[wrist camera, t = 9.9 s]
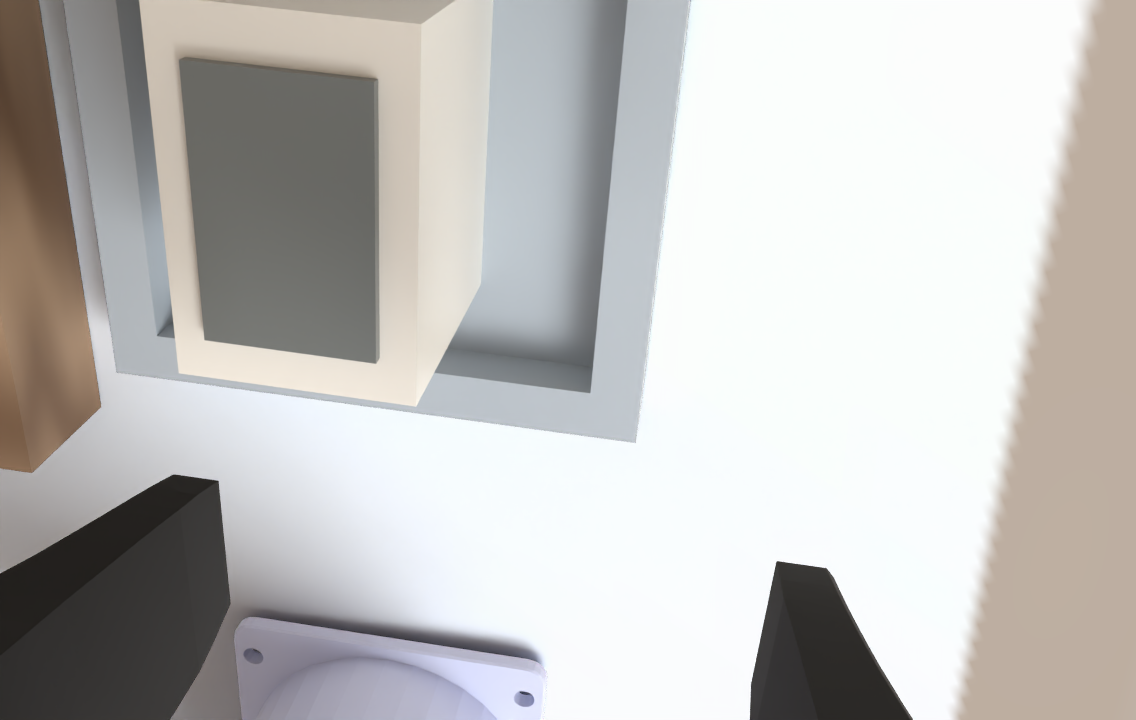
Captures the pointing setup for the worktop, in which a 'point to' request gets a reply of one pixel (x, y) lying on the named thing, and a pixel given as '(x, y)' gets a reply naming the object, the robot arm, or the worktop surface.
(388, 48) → the block
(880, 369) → the worktop surface
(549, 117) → the tray
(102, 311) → the worktop surface
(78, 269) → the open case
